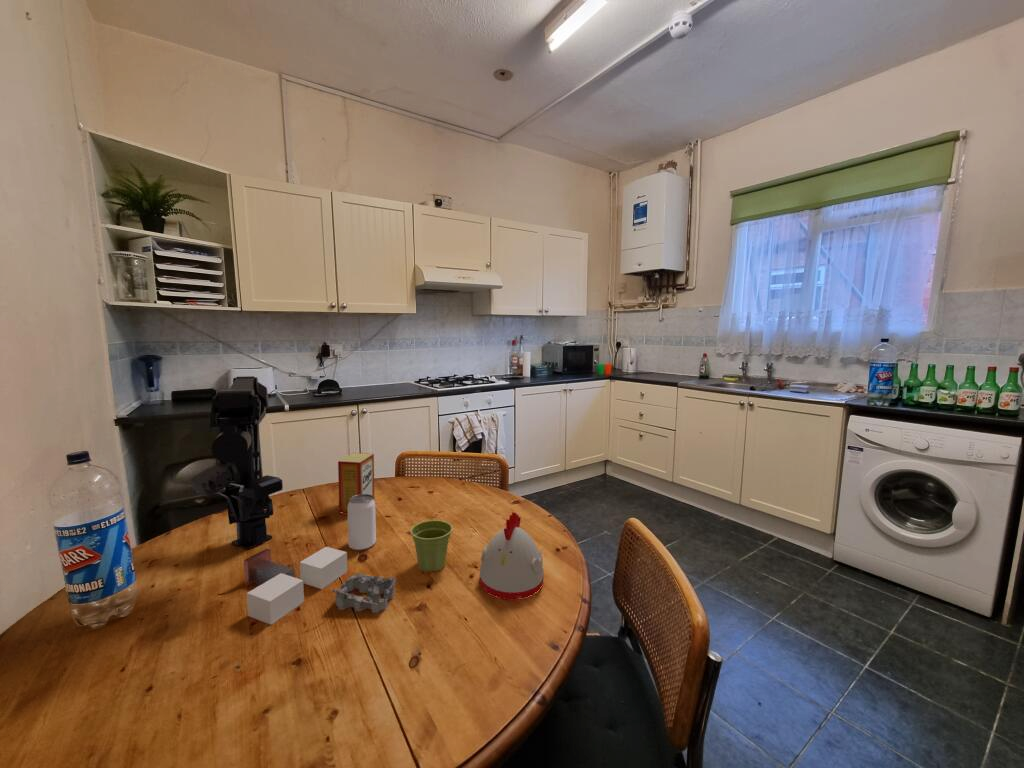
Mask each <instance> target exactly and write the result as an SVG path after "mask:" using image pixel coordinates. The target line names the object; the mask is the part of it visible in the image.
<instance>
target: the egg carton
mask: <svg viewBox="0 0 1024 768" xmlns="http://www.w3.org/2000/svg"><path fill="white" fill-rule="evenodd" d="M396 579H397V577H396V576H394V577H387V578H386V577H385V576H384V577H381V576H380V575H377V576H374V575H366V574H363V573H356V574H353V575H351V576H349V577H348V579H346V580H345V582H344V583H342V584H341V586H340V589H339V588H338V587H337V588H336V589H333V590H332V593H334V594H335V595H334V596H335V603H334V604H335V606H337V608H338V610H339V611H344V610H346V609H348V608H353V609H354V612H361V611H363V610H366V609H367V610H368V609H369V610H371V613H372V614H379V612H382V611H385V610H387V608H388V600H392V599H394V597H395V584H396ZM355 589H357V590H358V591H359V593H362V594H365V593H366V594H367V595H366V596H365V598H364V597H363V596H361V595H356V594H352V593H348V592H352V591H354V590H355ZM381 595H383V598H381Z"/></svg>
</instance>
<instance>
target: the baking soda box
mask: <svg viewBox="0 0 1024 768" xmlns="http://www.w3.org/2000/svg"><path fill="white" fill-rule="evenodd" d="M374 457H375V455H374V453H368V452H367V453H366V452H364V453H363V452H353V453H351V454H348V455H346V456H345V457H343V458H342V459H340V460H338V461H337V469H338V470H337V471H338V472H337V473H338V475H337V476H338V507H339V509H338V510H339V512H343V513H348V504H349V499H350V498H351V497H353V496H355V495H360V494H369V495H372V496H373V500H374V501H375V458H374ZM339 512H338V513H339Z"/></svg>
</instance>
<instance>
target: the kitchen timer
mask: <svg viewBox="0 0 1024 768" xmlns="http://www.w3.org/2000/svg"><path fill="white" fill-rule="evenodd" d="M505 522H506V525H505V528H504V527H503V529H500V531H499V532H498V531H497V533H496V534H495V535H494V536H493V537H492V538H491V540H490V541H489V543H488V545H487V546H486V547H485V546H484V547H483V549H482V553H481V558H480V561H481V563H480V567H479V584H481V585H480V586H482V587H481V589H482V588H483V589H484V590H483V589H482V590H483V591H484V592H485V593H487V592H488V593H490V594H492V595H494V596H497V597H500V598H505V599H519V598H525V597H528V596H530V595H533V594H534V593H535V592H537V591H538V590H539V589H540V587H541V586H542V584H543V585H544V582H543V580H544V577H545V576H544V575H545V573H544V568H543V566H544V565H543V564H544V563H543V554H542V549H539V550H538V547H537V545H536V543H535V541H534V540H533V538H532V537H531V536H530V534H528V533H527V531H525V530H524V529H523V528H521V527H520V525H521V516H520V515H519V514H517V512H514V511H513V512H511V514H509V519H506V521H505ZM542 587H543V586H542ZM540 590H541V589H540ZM488 593H487V594H488ZM490 594H489V595H490ZM492 595H491V596H492ZM494 596H493V597H494ZM533 596H534V595H533ZM500 598H499V599H500ZM528 598H529V597H528ZM525 599H526V598H525ZM519 600H520V599H519Z"/></svg>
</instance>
